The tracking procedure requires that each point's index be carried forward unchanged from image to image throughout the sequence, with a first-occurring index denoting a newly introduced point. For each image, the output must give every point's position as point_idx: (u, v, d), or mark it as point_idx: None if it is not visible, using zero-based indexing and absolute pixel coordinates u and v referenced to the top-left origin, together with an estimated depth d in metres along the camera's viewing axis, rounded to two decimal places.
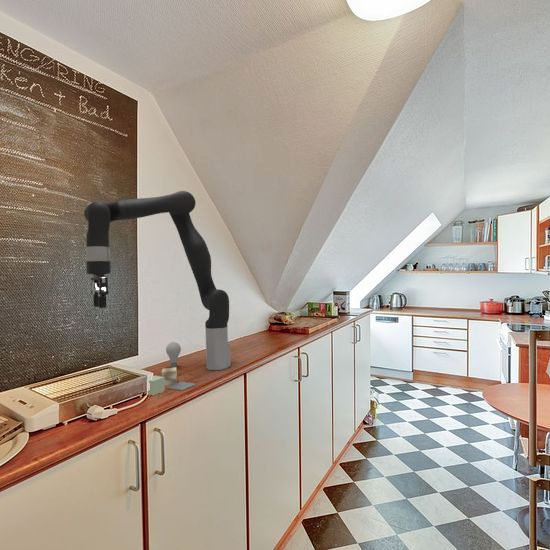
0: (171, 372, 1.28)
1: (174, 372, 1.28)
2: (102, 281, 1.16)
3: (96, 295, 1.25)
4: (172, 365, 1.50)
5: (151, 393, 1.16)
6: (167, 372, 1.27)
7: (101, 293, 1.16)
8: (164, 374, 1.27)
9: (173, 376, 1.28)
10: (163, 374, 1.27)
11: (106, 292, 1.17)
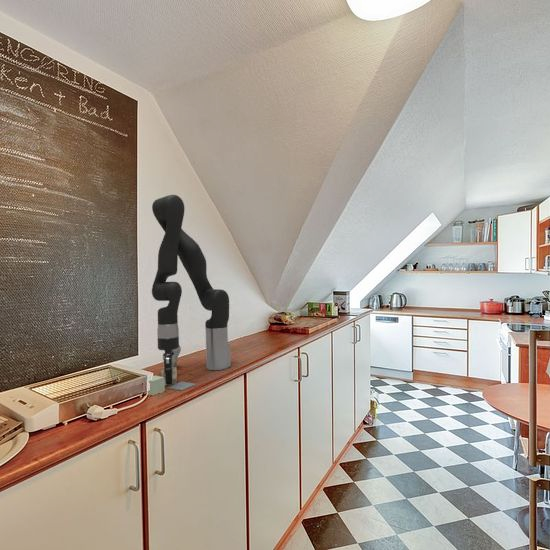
0: None
1: (174, 372, 1.28)
2: None
3: None
4: None
5: (151, 393, 1.16)
6: None
7: None
8: (164, 373, 1.27)
9: (173, 376, 1.28)
10: (163, 374, 1.27)
11: None
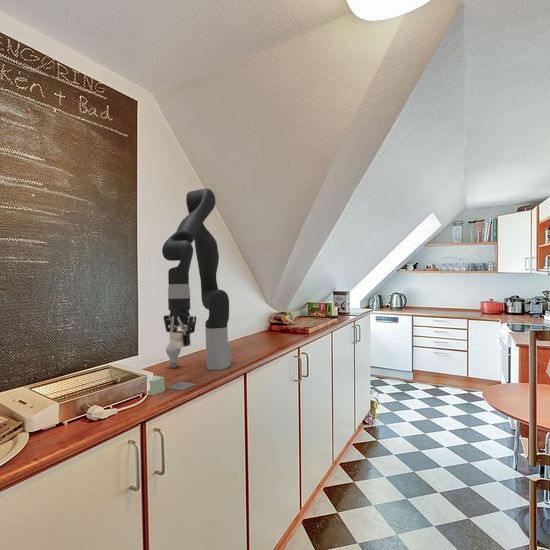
0: None
1: None
2: None
3: None
4: (172, 365, 1.50)
5: (151, 393, 1.16)
6: None
7: None
8: (182, 335, 1.23)
9: None
10: (181, 335, 1.22)
11: None
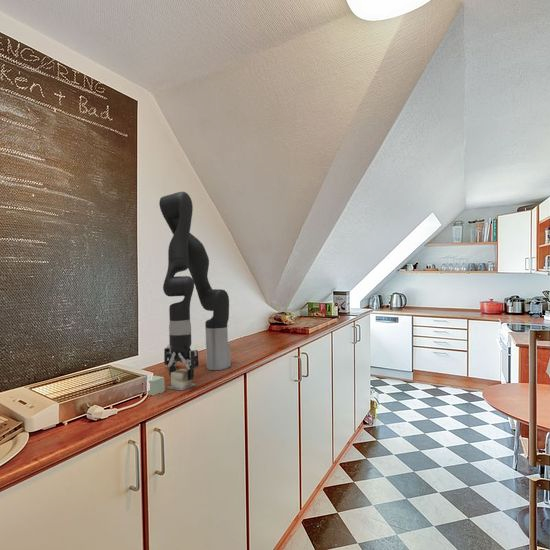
0: None
1: None
2: None
3: None
4: None
5: (151, 393, 1.16)
6: (185, 373, 1.23)
7: None
8: (183, 375, 1.23)
9: None
10: (182, 376, 1.22)
11: None
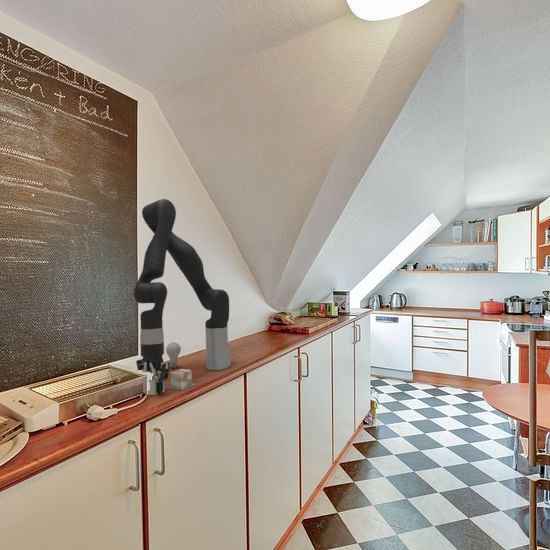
0: (188, 372, 1.24)
1: (190, 372, 1.25)
2: None
3: None
4: (172, 365, 1.50)
5: (151, 393, 1.16)
6: (185, 373, 1.23)
7: None
8: (183, 375, 1.23)
9: (189, 376, 1.25)
10: (182, 376, 1.22)
11: None
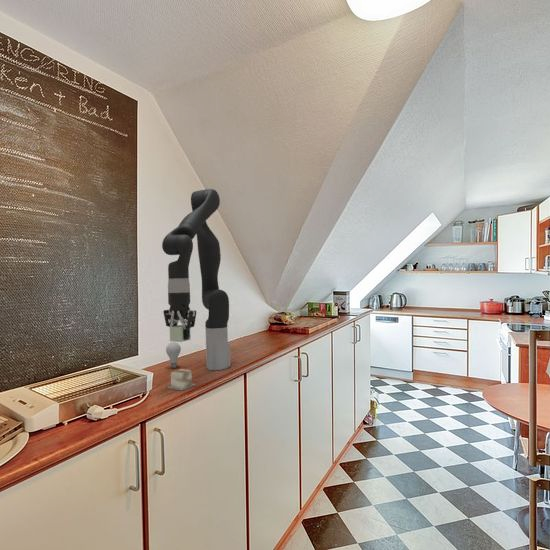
0: (188, 372, 1.24)
1: (190, 372, 1.25)
2: None
3: None
4: (172, 365, 1.50)
5: (178, 339, 1.22)
6: (185, 373, 1.23)
7: None
8: (183, 375, 1.23)
9: (189, 376, 1.25)
10: (182, 376, 1.22)
11: None
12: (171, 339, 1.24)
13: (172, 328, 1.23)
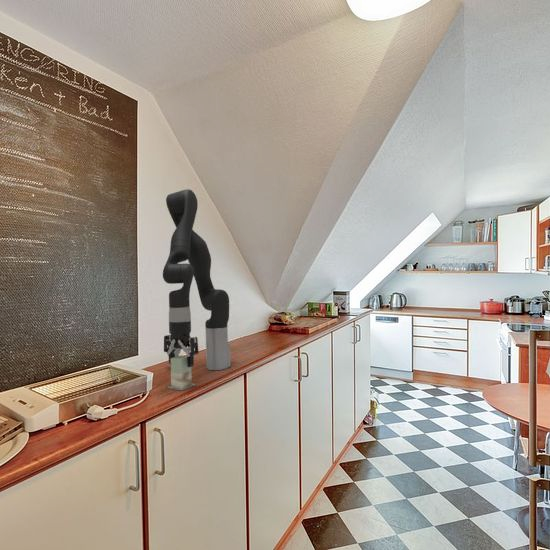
0: (188, 372, 1.24)
1: (190, 372, 1.25)
2: None
3: None
4: None
5: (179, 371, 1.22)
6: (185, 373, 1.23)
7: None
8: (183, 375, 1.23)
9: (189, 376, 1.25)
10: (182, 376, 1.22)
11: None
12: (172, 370, 1.24)
13: (173, 359, 1.23)
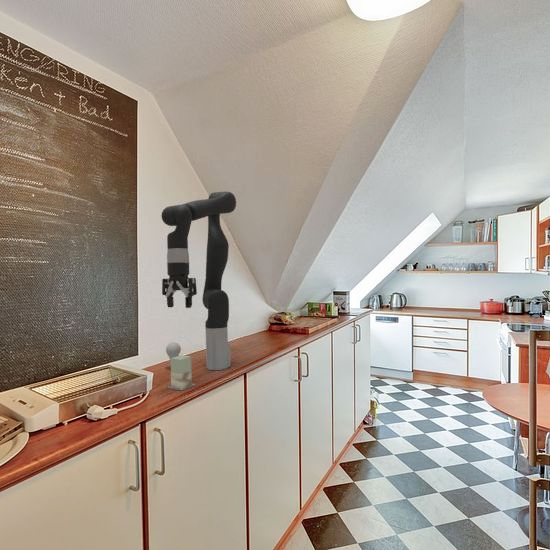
0: (188, 372, 1.24)
1: (190, 372, 1.25)
2: None
3: None
4: None
5: (179, 371, 1.22)
6: (185, 373, 1.23)
7: None
8: (183, 375, 1.23)
9: (189, 376, 1.25)
10: (182, 376, 1.22)
11: None
12: (172, 370, 1.24)
13: (173, 359, 1.23)
